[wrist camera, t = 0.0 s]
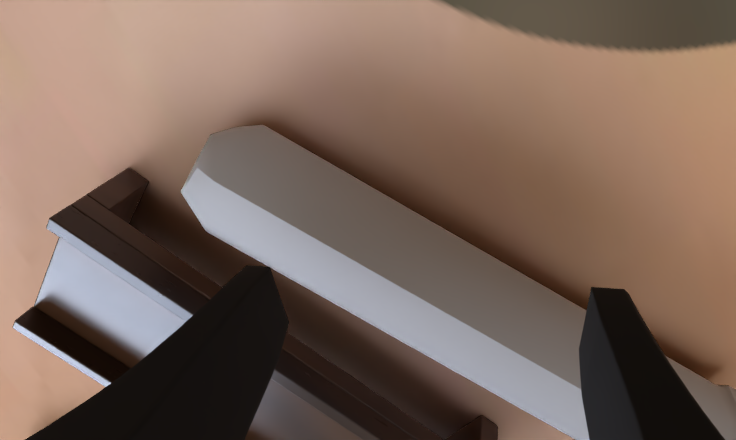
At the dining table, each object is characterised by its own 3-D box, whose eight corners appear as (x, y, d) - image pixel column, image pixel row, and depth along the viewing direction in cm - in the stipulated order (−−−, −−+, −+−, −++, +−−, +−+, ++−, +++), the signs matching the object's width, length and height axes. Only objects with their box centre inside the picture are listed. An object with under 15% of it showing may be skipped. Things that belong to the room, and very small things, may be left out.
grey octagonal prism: (156, 235, 21) (652, 513, 22) (157, 157, 17) (767, 502, 18) (224, 158, 25) (654, 403, 26) (239, 77, 21) (751, 372, 22)
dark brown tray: (406, 482, 32) (391, 568, 28) (84, 269, 30) (11, 328, 25) (498, 426, 28) (496, 518, 24) (128, 166, 25) (48, 217, 21)
